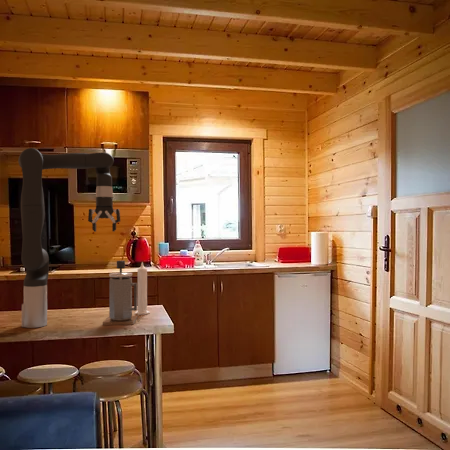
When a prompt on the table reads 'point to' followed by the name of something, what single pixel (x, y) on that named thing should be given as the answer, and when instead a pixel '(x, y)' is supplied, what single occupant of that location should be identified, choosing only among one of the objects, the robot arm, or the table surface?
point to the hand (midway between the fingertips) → (104, 231)
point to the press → (121, 302)
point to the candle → (142, 291)
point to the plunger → (121, 274)
